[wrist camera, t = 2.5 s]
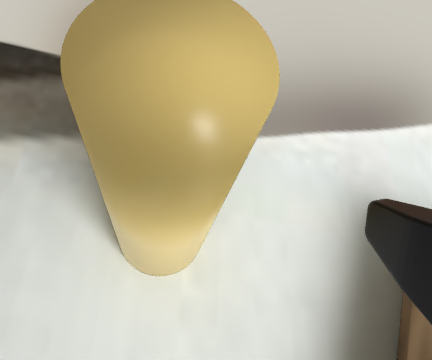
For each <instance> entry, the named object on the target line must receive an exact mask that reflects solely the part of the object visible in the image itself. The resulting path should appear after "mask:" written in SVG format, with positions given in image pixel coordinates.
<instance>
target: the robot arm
mask: <svg viewBox="0 0 432 360" xmlns="http://www.w3.org/2000/svg"><path fill="white" fill-rule="evenodd" d="M365 234H366V237H367V239H368V241H369V243H370V244H371V246H372V247H373V248H374V250H375V251H376V253H377V254H378V256H379V257H380V259H381V260H382V262H383V263H384V265H385V266H386V268H387V269H388V271H389V272H390V273H391V275H392V276H393V278H394V279H395V281H396V282H397V284H398V285H399V286H400V288H401V289H402V290H403V291H404V293H405V294H406V295H407V296H408V298H409V299H410V300H411V301H412V302H413V304H414V305H415V306H416V307H417V308H418V310H419V311H420V312H421V313H422V314H423V316H424V317H425V318H426V319H427V320H428V322H429V323H430V324H431V325H432V209H429V208H424V207H420V206H416V205H412V204H407V203H403V202H399V201H395V200H390V199H380V200H375V201H372V202H370V203H369V205H368V210H367V218H366V226H365Z"/></svg>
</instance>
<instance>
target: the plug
mask: <svg viewBox="0 0 432 360" xmlns="http://www.w3.org/2000/svg"><path fill="white" fill-rule="evenodd" d="M61 75H62V80H63V84H64V87H65V90H66V93H67V96H68V99H69V101H70V104H71V107H72V110H73V113H74V116H75V119H76V121H77V124H78V127H79V130H80V133H81V136H82V139H83V141H84V144H85V147H86V150H87V153H88V156H89V159H90V162H91V164H92V167H93V170H94V173H95V176H96V179H97V182H98V184H99V187H100V190H101V193H102V196H103V199H104V202H105V204H106V207H107V210H108V213H109V216H110V219H111V222H112V224H113V227H114V230H115V233H116V236H117V239H118V242H119V245H120V247H121V250H122V253H123V255H124V256H125V258H126V259H127V261H128V262H129V263H130V264H131V265H132V266H133V267H134V268H136V269H137V270H139V271H140V272H143V273H145V274H148V275H152V276H167V275H172V274H175V273H177V272H179V271H181V270H183V269H184V268H186V267H187V266H188V265H189V264H190V263H191V262H192V261H193V260H194V258H195V257H196V255H197V253H198V251H199V249H200V248H201V246H202V244H203V242H204V240H205V238H206V236H207V234H208V232H209V230H210V228H211V226H212V224H213V222H214V220H215V218H216V216H217V215H218V213H219V211H220V209H221V207H222V205H223V203H224V201H225V199H226V197H227V195H228V193H229V191H230V189H231V187H232V185H233V183H234V181H235V180H236V178H237V176H238V174H239V172H240V170H241V168H242V166H243V164H244V162H245V160H246V158H247V156H248V154H249V152H250V150H251V148H252V147H253V145H254V143H255V141H256V139H257V137H258V135H259V133H260V131H261V129H262V127H263V125H264V123H265V121H266V119H267V117H268V115H269V114H270V111H271V110H272V108H273V105H274V103H275V100H276V97H277V93H278V88H279V76H280V74H279V64H278V60H277V56H276V52H275V50H274V47H273V45H272V43H271V40H270V39H269V37H268V35H267V34H266V32H265V31H264V29H263V28H262V27H261V25H260V24H259V23H258V21H257V20H256V19H255V18H254V17H253V16H252V15H251V14H250V13H249V12H247V11H246V10H245V9H244V8H243V7H241V6H240V5H239V4H237V3H236V2H234V1H232V0H95V1H93V2H92V3H91V4H90V5H88V6H87V7H86V8H85V9H84V10H83V11H82V12H81V13H80V14H79V15H78V17H77V18H76V19H75V21H74V22H73V23H72V25H71V27H70V29H69V31H68V33H67V34H66V37H65V40H64V43H63V46H62V52H61Z"/></svg>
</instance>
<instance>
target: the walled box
mask: <svg viewBox="0 0 432 360" xmlns="http://www.w3.org/2000/svg"><path fill="white" fill-rule="evenodd" d="M397 360H432V325H431V324H430V323H429V322H428V320H427V319H426V318H425V317H424V316H423V314H422V313H421V312H420V311H419V310H418V308H417V307H416V306H415V305H414V304H413V302H412V301H411V300H410V299H409V298H408V296H407V295H406V294H405V293H404V291H403V302H402V312H401V322H400V332H399V342H398V353H397Z"/></svg>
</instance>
